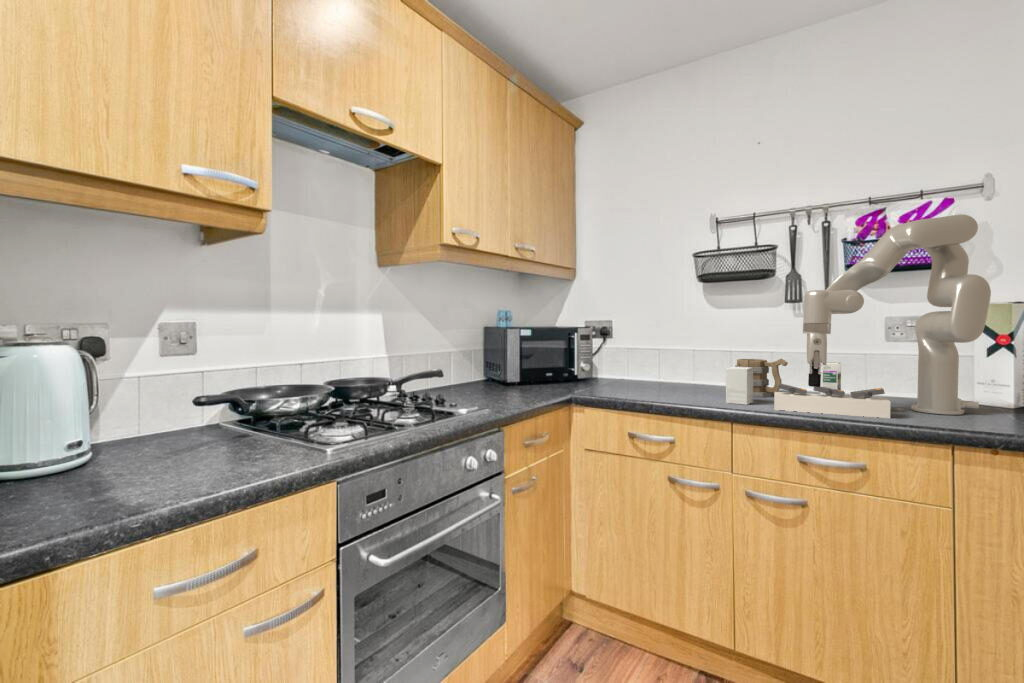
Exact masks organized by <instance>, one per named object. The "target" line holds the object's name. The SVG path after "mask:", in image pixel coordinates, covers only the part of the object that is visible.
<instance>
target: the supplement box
mask: <svg viewBox="0 0 1024 683" xmlns="http://www.w3.org/2000/svg"><path fill="white" fill-rule="evenodd" d="M725 403H726V404H734V405H735V404H736V405H745V406H747V405H750V403H751V404H753V403H754V397H753V368H749V367H735V366H730V367H726V368H725Z"/></svg>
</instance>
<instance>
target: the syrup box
mask: <svg viewBox="0 0 1024 683" xmlns="http://www.w3.org/2000/svg"><path fill="white" fill-rule="evenodd" d="M820 374H821V383H820V386H821V387H826V388H831V389H836V390H842V388H841V387H842V382H841V381H842V364H841V362H836V361H833V362H832V361H827V364H826V365H823V364H822V363H821V368H820ZM819 394H824V395H826V394H825V393H823V392H819Z"/></svg>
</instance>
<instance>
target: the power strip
mask: <svg viewBox="0 0 1024 683" xmlns="http://www.w3.org/2000/svg"><path fill="white" fill-rule="evenodd" d="M773 394H774V399H773V400H774V402H773V405H774V408H773V410H774V411H779V410H785V411H784V412H793V411H797V412H796V413H807V412H810V413H811V414H821V413H823V414H822V415H835V414H836V416H840V415H841V416H849V417H850V416H853V417H863V416H864V417H863V418H877V417H879V419H891V413H906V409H905V408H900V407H899V408H898V407H891V401H890V400H889V399H887V398H886V397H874V396H872V397H871V398H866V397H865V396H864V397H857V398H853V397H852V396H851V395H844V397H842V396H837V395H831V396H827V395H824V394H820V393H806V395H803V394H799V393H794V394H791V393H789V392H788V391H787V392H786V391H785V392H784V391H783V392H780V391H778V392H774V393H773Z"/></svg>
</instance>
